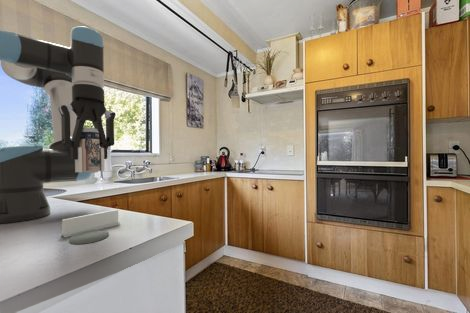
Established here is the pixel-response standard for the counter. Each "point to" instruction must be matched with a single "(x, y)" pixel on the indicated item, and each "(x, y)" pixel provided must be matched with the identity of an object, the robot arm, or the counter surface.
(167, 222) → the counter surface
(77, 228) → the divider
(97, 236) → the coaster
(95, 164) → the beer can
